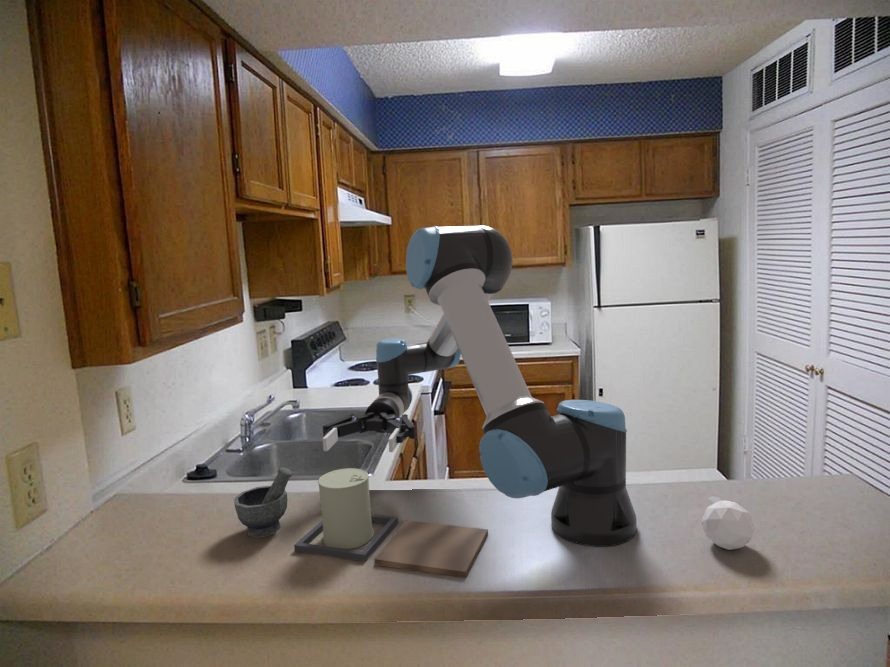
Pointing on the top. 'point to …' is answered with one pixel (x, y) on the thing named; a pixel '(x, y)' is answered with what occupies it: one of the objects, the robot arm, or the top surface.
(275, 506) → the mortar and pestle
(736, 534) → the ball
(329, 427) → the robot arm
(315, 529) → the grey picture frame
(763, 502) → the top surface
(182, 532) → the top surface
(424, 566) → the walnut board
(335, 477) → the can
